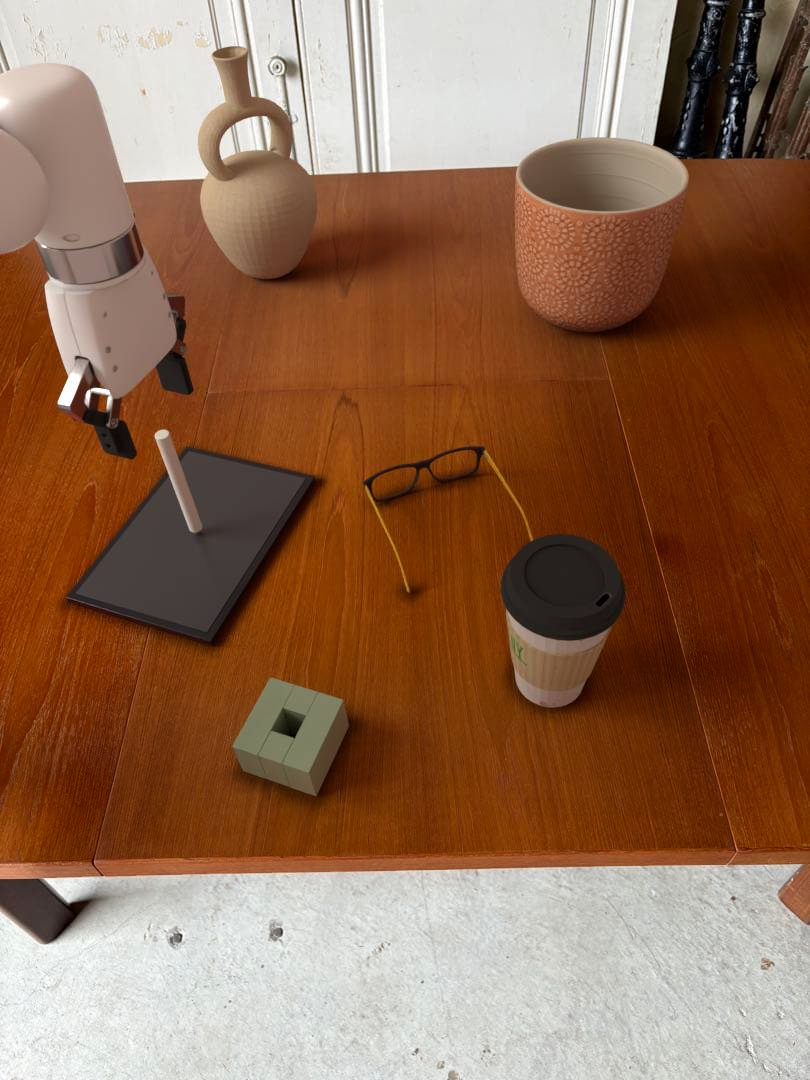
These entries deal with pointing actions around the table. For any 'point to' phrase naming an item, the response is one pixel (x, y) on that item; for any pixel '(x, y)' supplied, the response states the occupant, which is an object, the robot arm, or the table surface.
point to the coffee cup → (559, 614)
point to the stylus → (178, 480)
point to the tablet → (194, 546)
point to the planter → (595, 229)
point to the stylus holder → (282, 756)
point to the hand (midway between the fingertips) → (151, 421)
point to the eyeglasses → (426, 464)
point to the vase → (254, 181)
